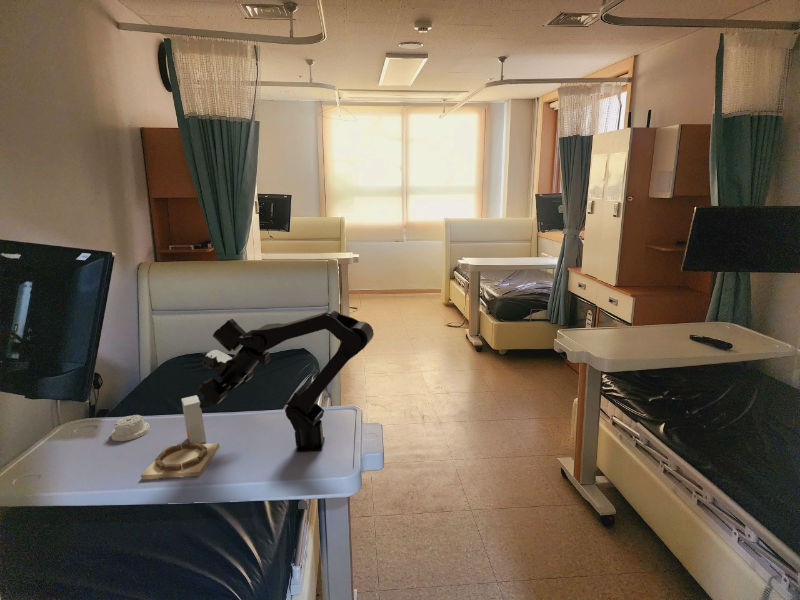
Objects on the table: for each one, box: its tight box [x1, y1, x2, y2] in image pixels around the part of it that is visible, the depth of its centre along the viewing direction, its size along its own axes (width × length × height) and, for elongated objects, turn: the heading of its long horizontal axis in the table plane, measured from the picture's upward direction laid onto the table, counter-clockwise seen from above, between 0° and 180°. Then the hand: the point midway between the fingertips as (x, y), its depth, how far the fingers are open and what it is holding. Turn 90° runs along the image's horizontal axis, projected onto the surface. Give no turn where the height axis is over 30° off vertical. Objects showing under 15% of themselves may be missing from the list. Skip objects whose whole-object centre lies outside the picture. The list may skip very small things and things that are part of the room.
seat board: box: [140, 442, 220, 481], centre depth 126 cm, size 14×14×2 cm
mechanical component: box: [110, 414, 151, 442], centre depth 144 cm, size 10×4×10 cm
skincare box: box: [180, 394, 207, 444], centre depth 137 cm, size 6×4×12 cm
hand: (210, 400), depth 134 cm, fingers open, 9 cm apart
